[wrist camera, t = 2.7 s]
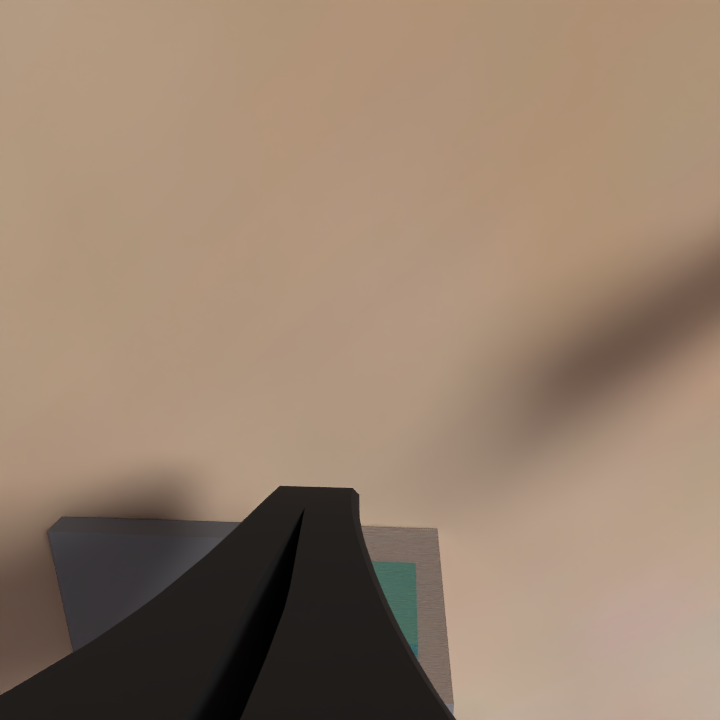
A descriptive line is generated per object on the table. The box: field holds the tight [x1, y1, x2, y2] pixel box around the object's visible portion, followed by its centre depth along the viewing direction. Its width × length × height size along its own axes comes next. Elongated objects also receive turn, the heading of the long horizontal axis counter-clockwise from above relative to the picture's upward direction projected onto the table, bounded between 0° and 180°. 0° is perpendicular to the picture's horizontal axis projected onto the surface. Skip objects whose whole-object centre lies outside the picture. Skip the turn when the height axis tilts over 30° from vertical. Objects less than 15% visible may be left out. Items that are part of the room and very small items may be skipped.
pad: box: [48, 517, 240, 652], centre depth 19 cm, size 6×6×1 cm
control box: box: [361, 527, 454, 715], centre depth 16 cm, size 6×5×6 cm
